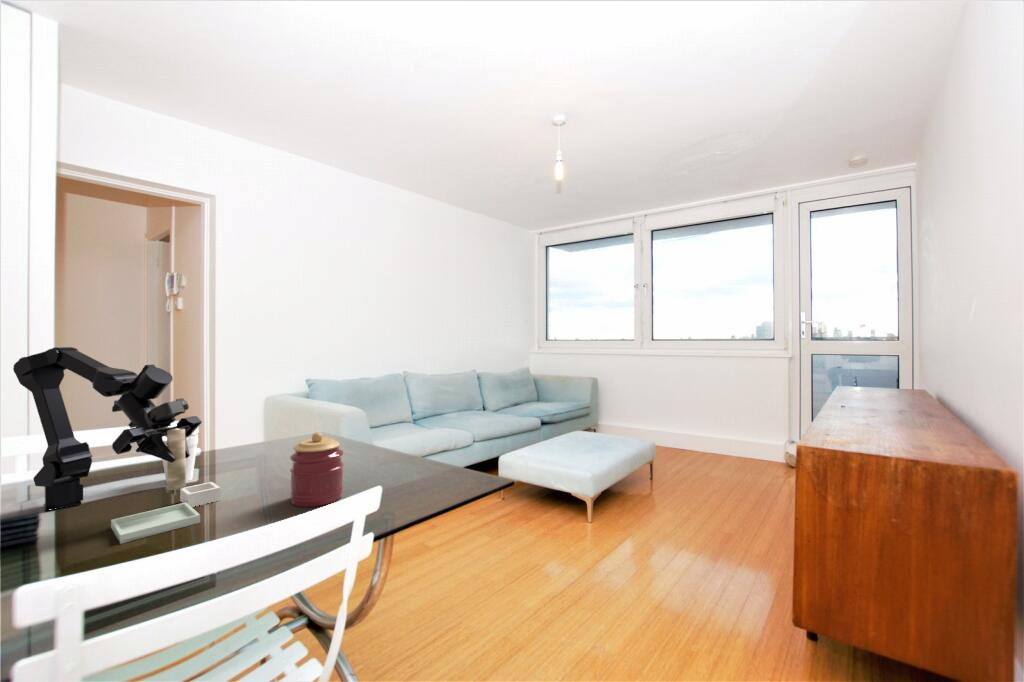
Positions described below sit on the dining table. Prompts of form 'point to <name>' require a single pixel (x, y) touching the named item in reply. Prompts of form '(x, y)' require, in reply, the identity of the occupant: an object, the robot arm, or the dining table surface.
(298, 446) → the canister
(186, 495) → the collar
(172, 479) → the dowel
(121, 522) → the tray
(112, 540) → the dining table surface
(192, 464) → the foam cup
